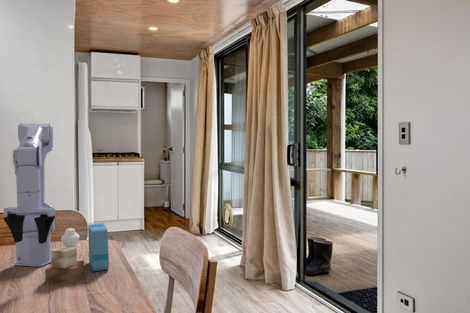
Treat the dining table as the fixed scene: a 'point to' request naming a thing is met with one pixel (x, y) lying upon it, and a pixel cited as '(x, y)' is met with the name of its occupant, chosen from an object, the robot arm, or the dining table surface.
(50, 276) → the walnut base block
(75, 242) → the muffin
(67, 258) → the birch cube
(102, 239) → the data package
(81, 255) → the dining table surface
